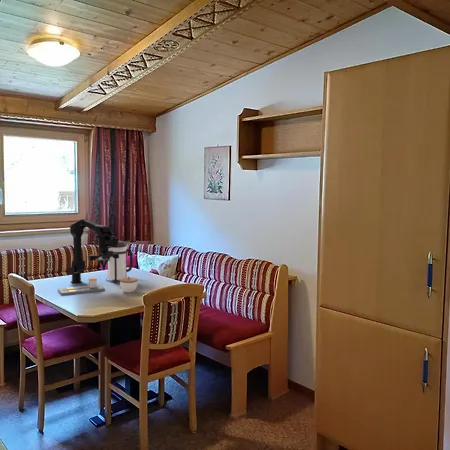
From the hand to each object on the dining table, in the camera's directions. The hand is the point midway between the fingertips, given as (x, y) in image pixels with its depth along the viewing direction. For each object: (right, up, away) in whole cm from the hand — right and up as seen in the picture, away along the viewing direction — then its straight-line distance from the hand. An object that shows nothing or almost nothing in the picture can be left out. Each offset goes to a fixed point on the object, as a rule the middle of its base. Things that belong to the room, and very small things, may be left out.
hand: (103, 269), depth 290 cm
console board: (-12, -13, -6) cm, 18 cm away
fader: (-6, -10, -2) cm, 12 cm away
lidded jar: (+17, -13, -5) cm, 22 cm away
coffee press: (+4, -10, +24) cm, 26 cm away
